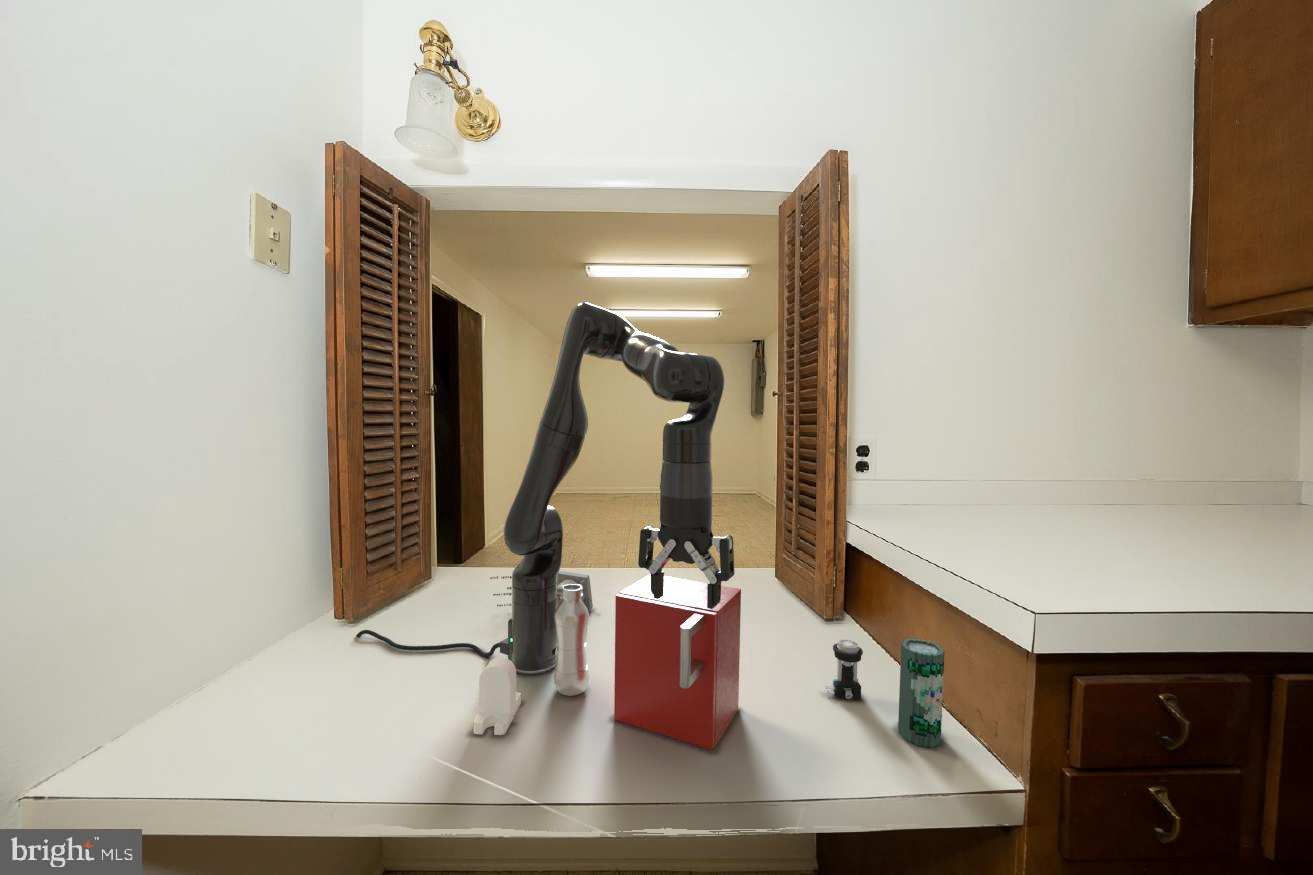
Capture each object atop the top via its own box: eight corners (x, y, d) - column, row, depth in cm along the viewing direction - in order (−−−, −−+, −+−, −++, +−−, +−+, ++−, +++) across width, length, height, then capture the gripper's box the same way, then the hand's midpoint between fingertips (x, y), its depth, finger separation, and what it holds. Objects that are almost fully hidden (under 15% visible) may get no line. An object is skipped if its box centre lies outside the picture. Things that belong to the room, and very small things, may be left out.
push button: (828, 702, 98) (830, 649, 97) (821, 687, 103) (822, 636, 103) (865, 703, 97) (867, 650, 97) (855, 688, 103) (857, 638, 102)
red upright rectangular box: (715, 747, 84) (717, 611, 83) (617, 716, 92) (619, 592, 91) (738, 709, 95) (741, 588, 94) (649, 684, 103) (651, 573, 102)
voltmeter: (590, 602, 147) (591, 566, 146) (595, 618, 136) (595, 580, 135) (491, 608, 141) (491, 572, 141) (487, 625, 130) (486, 586, 129)
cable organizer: (472, 734, 86) (472, 674, 86) (492, 701, 96) (493, 647, 96) (504, 735, 86) (504, 675, 86) (521, 702, 96) (521, 648, 96)
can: (921, 750, 84) (925, 658, 83) (890, 728, 90) (894, 642, 89) (948, 741, 87) (952, 651, 86) (916, 720, 92) (920, 636, 91)
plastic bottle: (573, 704, 96) (574, 595, 95) (546, 693, 99) (546, 588, 98) (596, 688, 101) (597, 585, 100) (569, 678, 105) (570, 579, 104)
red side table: (697, 774, 77) (699, 629, 76) (593, 739, 85) (594, 607, 84) (714, 746, 84) (717, 612, 83) (617, 716, 92) (618, 593, 91)
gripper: (741, 492, 77) (739, 602, 78) (654, 485, 83) (652, 586, 84) (724, 500, 70) (722, 620, 71) (630, 491, 76) (629, 601, 77)
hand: (684, 602), depth 77 cm, fingers open, 8 cm apart
